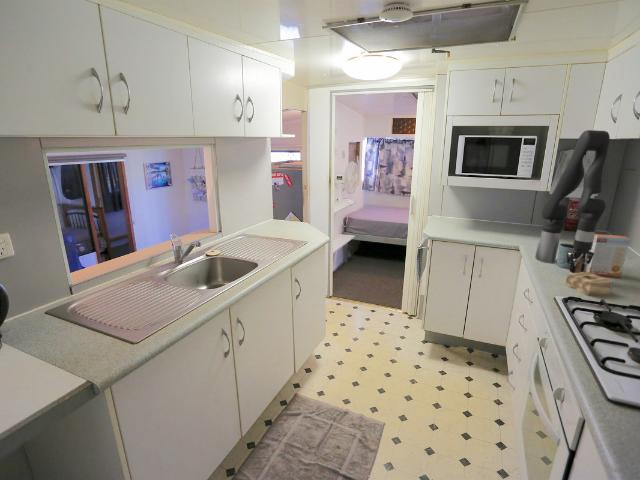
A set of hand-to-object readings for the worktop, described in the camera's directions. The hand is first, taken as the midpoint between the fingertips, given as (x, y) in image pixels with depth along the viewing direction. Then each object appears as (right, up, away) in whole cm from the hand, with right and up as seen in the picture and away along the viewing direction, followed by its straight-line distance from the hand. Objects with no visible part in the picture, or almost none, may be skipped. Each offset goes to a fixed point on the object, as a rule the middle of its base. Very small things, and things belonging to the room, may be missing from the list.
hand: (576, 271), depth 181 cm
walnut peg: (0, -3, +1) cm, 3 cm away
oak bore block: (-4, -7, -13) cm, 15 cm away
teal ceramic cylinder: (+7, +1, +17) cm, 18 cm away
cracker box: (+18, -2, +7) cm, 19 cm away
